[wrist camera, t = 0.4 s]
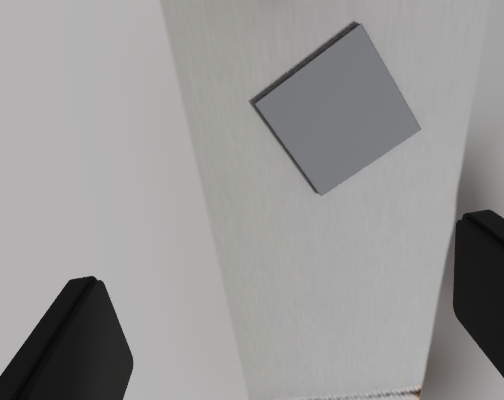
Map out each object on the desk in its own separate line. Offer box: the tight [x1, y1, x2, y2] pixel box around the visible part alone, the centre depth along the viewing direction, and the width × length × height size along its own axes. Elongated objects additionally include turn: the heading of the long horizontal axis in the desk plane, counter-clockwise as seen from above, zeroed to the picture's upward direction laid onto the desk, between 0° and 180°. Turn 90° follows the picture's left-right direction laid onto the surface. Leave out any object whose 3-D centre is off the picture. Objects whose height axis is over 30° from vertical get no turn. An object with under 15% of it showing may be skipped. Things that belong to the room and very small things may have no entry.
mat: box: [255, 23, 421, 196], centre depth 38 cm, size 12×12×1 cm
